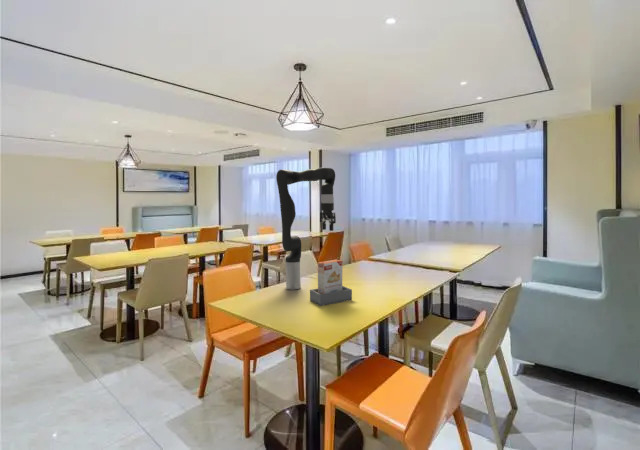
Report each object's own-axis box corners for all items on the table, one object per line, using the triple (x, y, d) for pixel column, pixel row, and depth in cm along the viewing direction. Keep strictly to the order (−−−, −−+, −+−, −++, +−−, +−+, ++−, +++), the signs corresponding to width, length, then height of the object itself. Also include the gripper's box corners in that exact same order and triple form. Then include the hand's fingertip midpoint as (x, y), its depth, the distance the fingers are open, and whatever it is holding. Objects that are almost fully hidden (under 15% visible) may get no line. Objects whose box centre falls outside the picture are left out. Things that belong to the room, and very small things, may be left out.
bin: (310, 300, 188) (309, 289, 187) (340, 294, 197) (340, 284, 197) (320, 306, 177) (320, 294, 177) (351, 300, 187) (351, 289, 186)
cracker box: (324, 302, 181) (324, 263, 179) (317, 299, 185) (316, 262, 184) (343, 296, 190) (342, 260, 188) (335, 294, 194) (335, 258, 193)
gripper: (315, 202, 200) (316, 229, 201) (327, 202, 187) (328, 231, 188) (326, 202, 203) (327, 229, 204) (339, 202, 191) (339, 230, 192)
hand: (327, 230), depth 196 cm, fingers open, 8 cm apart
